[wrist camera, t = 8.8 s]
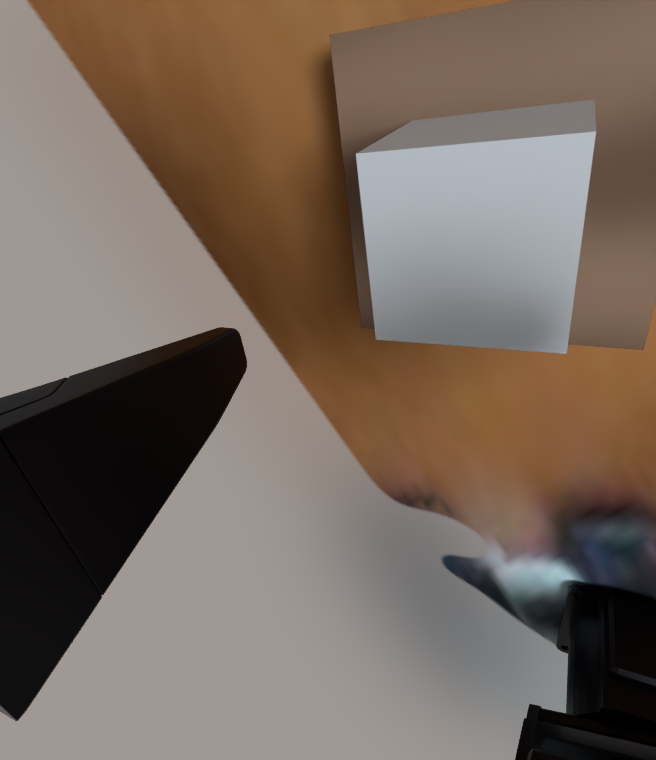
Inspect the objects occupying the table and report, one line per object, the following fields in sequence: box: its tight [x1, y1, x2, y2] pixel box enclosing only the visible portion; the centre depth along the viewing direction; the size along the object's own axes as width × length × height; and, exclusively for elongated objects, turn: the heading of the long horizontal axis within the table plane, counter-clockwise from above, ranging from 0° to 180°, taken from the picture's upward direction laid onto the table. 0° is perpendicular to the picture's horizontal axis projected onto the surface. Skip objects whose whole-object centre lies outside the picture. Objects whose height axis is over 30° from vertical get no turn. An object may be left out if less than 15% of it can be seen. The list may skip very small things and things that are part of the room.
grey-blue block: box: [356, 99, 596, 354], centre depth 14 cm, size 5×5×5 cm
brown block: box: [329, 0, 656, 350], centre depth 17 cm, size 10×10×3 cm
